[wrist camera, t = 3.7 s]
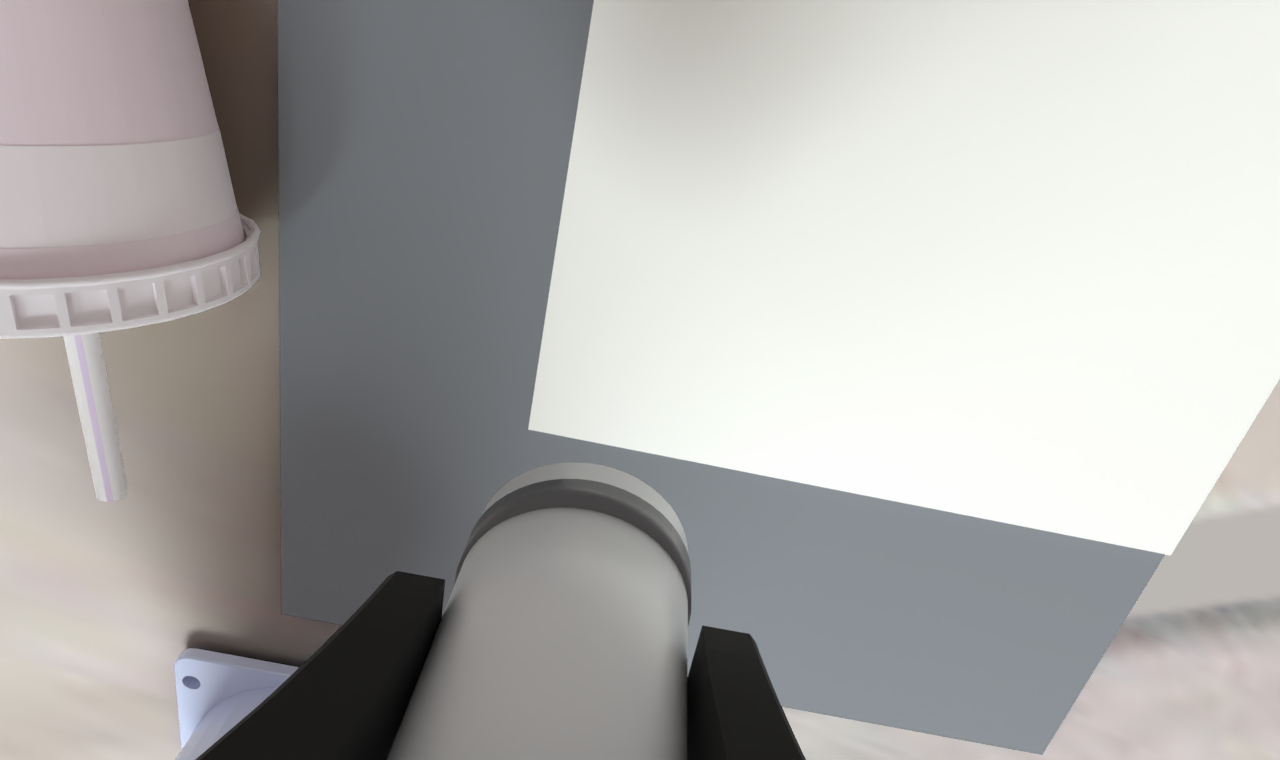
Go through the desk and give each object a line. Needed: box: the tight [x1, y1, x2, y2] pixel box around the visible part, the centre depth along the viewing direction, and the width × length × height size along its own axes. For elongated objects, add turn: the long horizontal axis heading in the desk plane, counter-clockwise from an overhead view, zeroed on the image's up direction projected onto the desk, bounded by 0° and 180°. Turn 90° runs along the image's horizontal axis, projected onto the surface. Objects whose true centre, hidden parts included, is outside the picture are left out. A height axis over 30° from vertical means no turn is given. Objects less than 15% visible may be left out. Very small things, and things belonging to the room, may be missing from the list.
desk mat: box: [277, 0, 1165, 755], centre depth 18 cm, size 22×22×1 cm
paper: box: [528, 0, 1280, 555], centre depth 17 cm, size 12×16×1 cm
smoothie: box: [0, 0, 261, 502], centre depth 14 cm, size 6×6×14 cm
